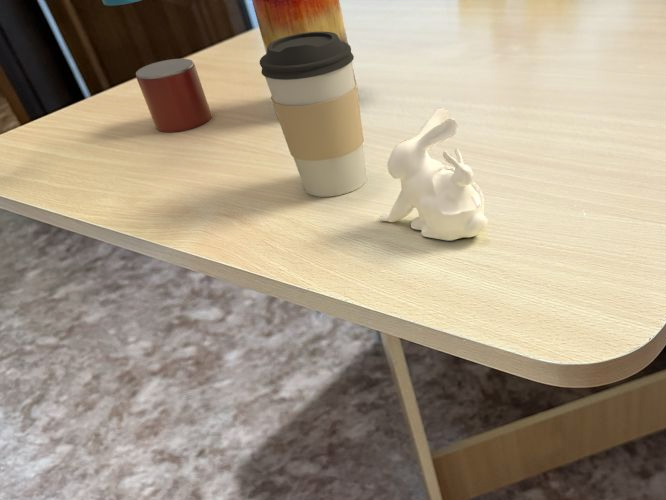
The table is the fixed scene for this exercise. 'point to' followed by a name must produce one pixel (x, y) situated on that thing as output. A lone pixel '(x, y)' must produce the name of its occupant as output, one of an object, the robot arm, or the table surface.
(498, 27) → the table surface
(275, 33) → the vase
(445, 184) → the rabbit figurine
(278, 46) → the coffee cup
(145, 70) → the tin
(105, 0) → the teal blue cylinder
